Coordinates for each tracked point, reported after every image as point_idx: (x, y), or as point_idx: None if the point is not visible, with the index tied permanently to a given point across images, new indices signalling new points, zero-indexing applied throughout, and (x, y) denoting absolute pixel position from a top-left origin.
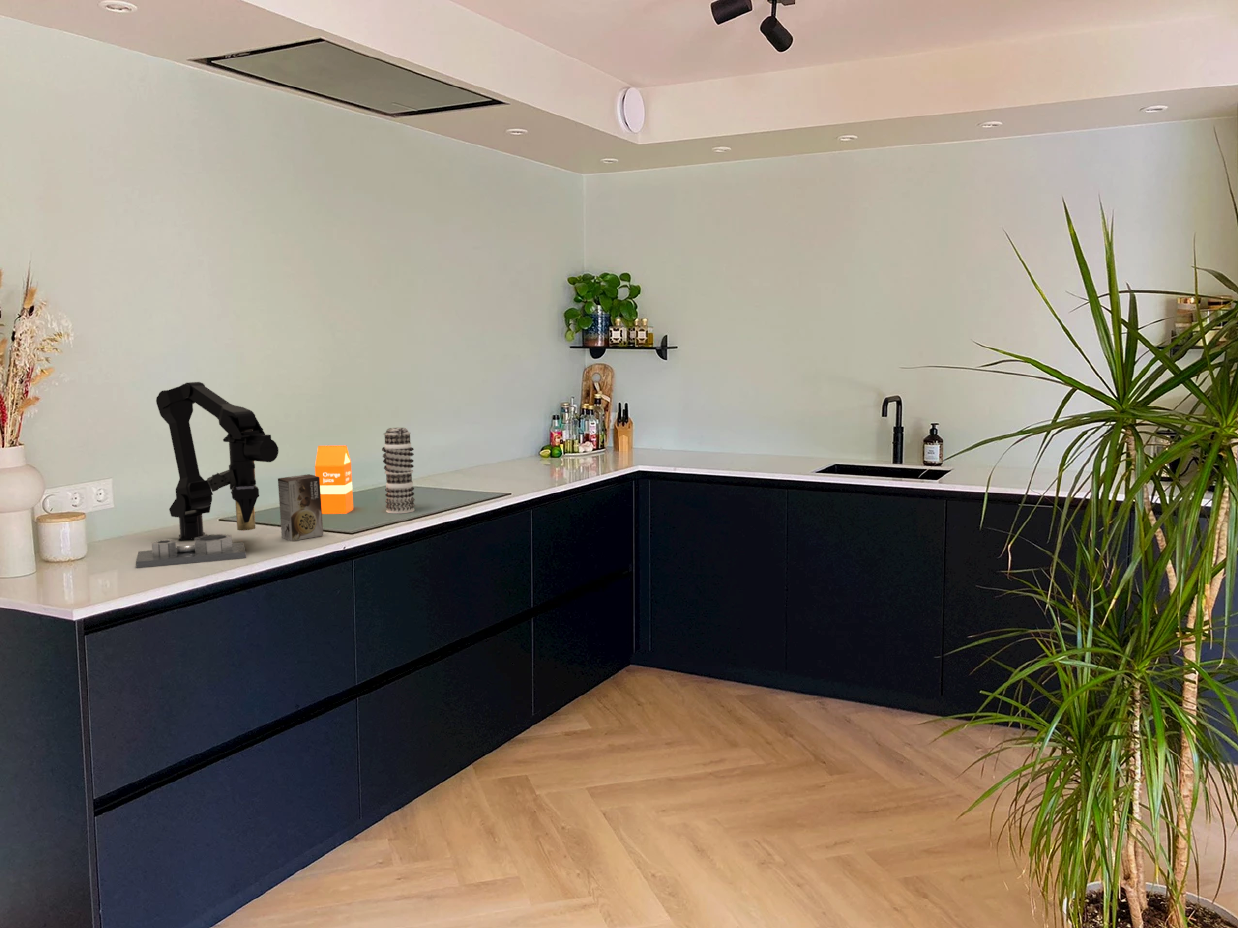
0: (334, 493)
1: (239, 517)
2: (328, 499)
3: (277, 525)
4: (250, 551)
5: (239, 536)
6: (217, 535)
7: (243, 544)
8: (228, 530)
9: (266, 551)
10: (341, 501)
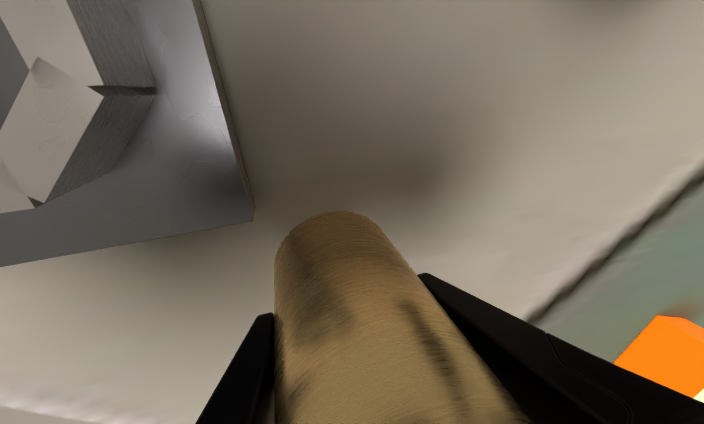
0: (696, 398)
1: (289, 309)
2: (685, 369)
3: (609, 255)
4: (160, 251)
5: (529, 155)
6: (28, 60)
7: (184, 231)
8: (663, 97)
9: (150, 316)
10: None
